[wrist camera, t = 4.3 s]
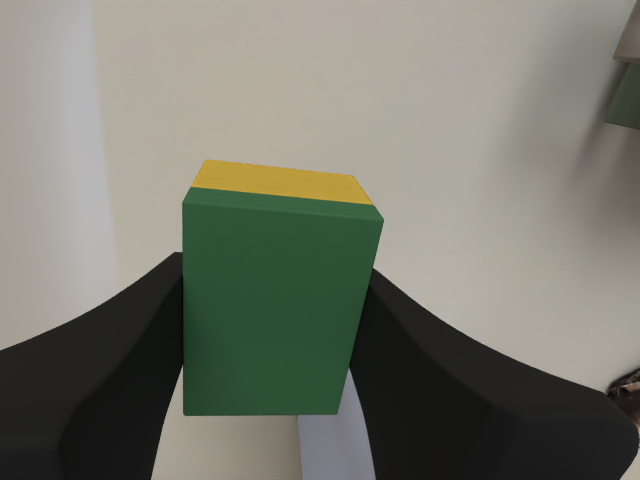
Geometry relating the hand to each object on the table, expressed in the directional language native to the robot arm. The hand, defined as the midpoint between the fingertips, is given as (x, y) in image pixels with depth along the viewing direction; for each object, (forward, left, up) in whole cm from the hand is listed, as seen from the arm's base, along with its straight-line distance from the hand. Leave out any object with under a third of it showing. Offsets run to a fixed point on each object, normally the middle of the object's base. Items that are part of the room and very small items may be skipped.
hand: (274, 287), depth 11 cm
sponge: (0, 0, -2) cm, 2 cm away
